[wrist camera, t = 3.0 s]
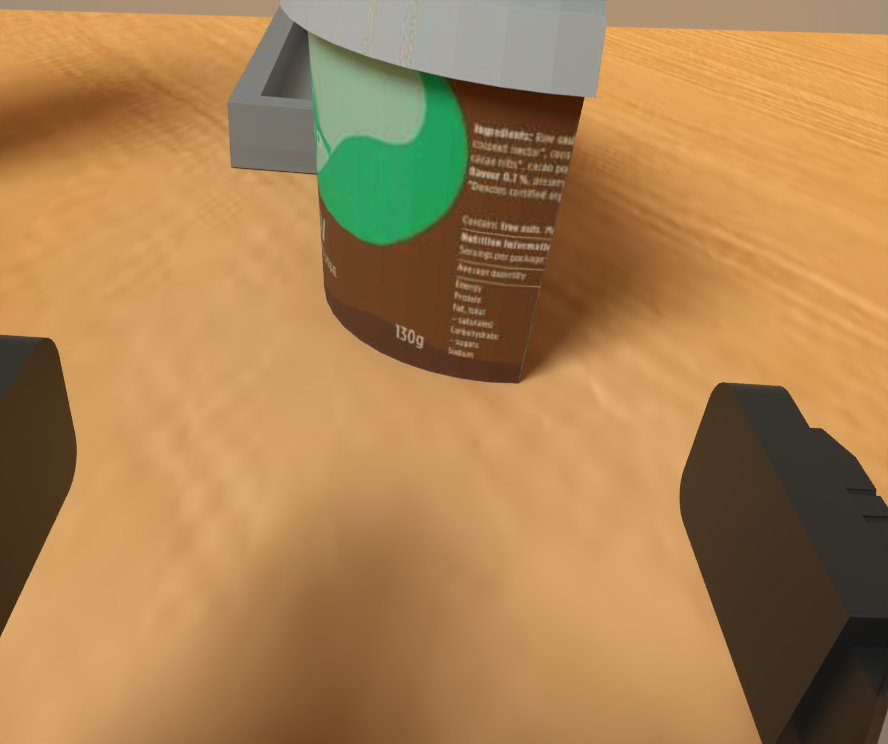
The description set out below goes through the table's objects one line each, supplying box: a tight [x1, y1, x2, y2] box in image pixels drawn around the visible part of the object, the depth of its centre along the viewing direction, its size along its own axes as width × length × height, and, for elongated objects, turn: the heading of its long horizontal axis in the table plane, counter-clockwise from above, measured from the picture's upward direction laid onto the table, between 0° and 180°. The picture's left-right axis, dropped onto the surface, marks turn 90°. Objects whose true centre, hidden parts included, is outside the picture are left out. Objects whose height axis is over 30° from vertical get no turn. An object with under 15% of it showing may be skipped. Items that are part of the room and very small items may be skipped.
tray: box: [228, 5, 317, 174], centre depth 38 cm, size 12×18×2 cm, turn 2°
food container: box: [280, 0, 607, 383], centre depth 22 cm, size 12×6×10 cm, turn 7°
